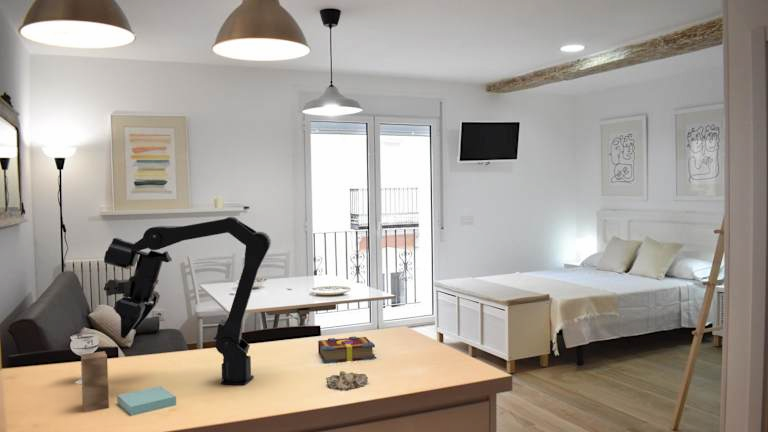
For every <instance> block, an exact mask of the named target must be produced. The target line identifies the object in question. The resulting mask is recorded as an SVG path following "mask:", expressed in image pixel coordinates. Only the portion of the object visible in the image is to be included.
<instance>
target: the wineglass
mask: <svg viewBox="0 0 768 432" xmlns="http://www.w3.org/2000/svg"><path fill="white" fill-rule="evenodd" d="M98 336H99V333H97V332H83V333H77V334H73V335H70V339H71V342H70V345H69V347H70V349H71V351H72V352H73V353H74V354H75V355H77V356H81V354H88V353H95V351H97V349H98V347H99V345H100V340H99V338H98ZM75 384H77V385H82V378H81V379H79V380H76V381H75Z"/></svg>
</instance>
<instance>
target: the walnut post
mask: <svg viewBox="0 0 768 432" xmlns="http://www.w3.org/2000/svg"><path fill="white" fill-rule="evenodd" d="M80 361H81V362H80V365H81V370H80V371H81V379H82V384H81V391H82V392H81V394H82V408H83V411H84V413H87V412H93V411H99V410H104V409H105V410H106V409H109V408H110V402H109V397H110V396H109V374H108V373H109V371H108V370H109V369H108V368H109V367H108V355H107V353H106V350H105V351H97V352H95V351H94V352H93V353H88V354H81V355H80Z"/></svg>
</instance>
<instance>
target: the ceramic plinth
mask: <svg viewBox="0 0 768 432" xmlns="http://www.w3.org/2000/svg"><path fill="white" fill-rule="evenodd" d="M116 399H117V405H118V406H119V407H120V408H122V409H123V410H124V411H125V412H126V413H128V415H130V416H131V417H132V416H137V415H140V414H144V413H149V412H153V411H157V410H162V409H166V408H170V407H174V406H176V405H177V397H176V395H174V394H173V393H172V392H170V391H169V390H167V389H165V388H164V387H163V386H162V385H159V386H155V387H150V388H145V389H142V390H136V391H132V392H127V393H123V394H118V395H117V397H116Z"/></svg>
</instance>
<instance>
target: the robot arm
mask: <svg viewBox="0 0 768 432" xmlns="http://www.w3.org/2000/svg"><path fill="white" fill-rule="evenodd" d="M222 234H229V235H232V237H233V238H235V239H236V240H237V241H238V242H240V243H241V244H243V245H245V249H244V250H245V252H244V262H243V264H244V265H243V269H242V273H241V275H240V279H239V281H238V284H237V288H236V290H235V294H234V298H233V301H232V303H231V307H230V310H229V314H228V317H227V318H226V320H224V319H221V320H220V322H219V323H218V325H217V331H216V335H214V338H213V340H214V341H215V343H214V344H215V345H214V346H215V348H216V351H217V352H218V353H220V354H221V355H222V357H223V359H222V362H223V363H221V381H220V384H221V385H233V386H234V385H236V386H241V385H242V386H244V385H247V383H249V382H250V381H251V380H253V379H254V377H255V376H254V375H252V366H251V365H252V361H251V360H252V359H251V358H252V357H251V355H248V353H249V349H250V346H251V345H250V344H249V343H248V342H247V341H245V339H243V338H242V335H243V326H244V325H243V324H244V316H245V313H246V311H247V307H248V304H249V301H250V297H251V294H252V292H253V288H254V285H255V282H256V277H257V275H258V272H259V269H260V266H261V265H262V263H263V261H264V259H265V256H266V255H267V253H268V252H269V249H270V247H271V243H272V241H271V238H270V236H269V235H268V234H267V233H266V232H264V231H257V230H255V229H253V228H252V227H250V226H248V225H247V224H245V223H243V222H241V220H239V219H238V218H237V217H235V216H228V217H226V218H221V219H217V220H216V219H215V220H210V221H205V222H198V223H192V224H188V225H187V224H186V225H157V226H153V227H149V228H147V229H146V231H144V233H143V235H142V238H140V239H139V240H138V241H135V242H131V241H126V240H124V239H122V238H119V237H114V238H112V241H111V243H110V244H109V245H108V248H107V250H106V251H105V254H104V259H103V262H104V264H106V265H110V266H114V267H118V268H121V269H125V270H129V269H130V268H131V267H133V268H134V267H135V266H136V267H135V269H134V273H133V275H131V276H130V277H129V279H117V278H115V279H108V281H107V282H104V287H103V291H105V295H106V296H107V297H109V296H113V295H123V297H122V298H120V299H118V300H116V301H115V302H114V306H113V310H114V312H115V313H116V314H118V316H119V317H120V338H122V339H127V337H128V336H129V334H130V333H131V331H132V330H134V331H136V330H137V329H139V328H140V326H141V324H142V323H143V322H144V321H145V319H147V317H148V316H149V314H150V313H151V312H152V311H153V310H154V308H156V306H157V304H159V300H160V297H161V296H160V293H159V292H158V291H155V288H156V285H158V284H159V275H160V271H161V268H162V265H163V262H164V263H169V262H172V261H173V260H172V257H171V256H170V254H169V252H168V250H167V251H164V252H160V251H158V250H161V249H164V248H166V247H170V246H172V245H175V244H177V243H180V242H183V241H189V240H194V239H199V238H206V237H211V236H214V235H222ZM146 249H149V250H150V251H149V252H146V251H144V250H146Z"/></svg>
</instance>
